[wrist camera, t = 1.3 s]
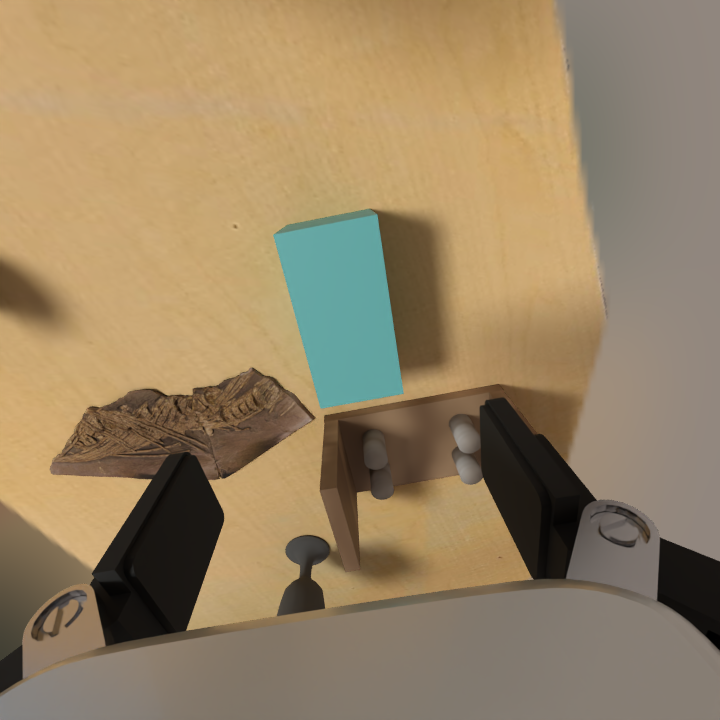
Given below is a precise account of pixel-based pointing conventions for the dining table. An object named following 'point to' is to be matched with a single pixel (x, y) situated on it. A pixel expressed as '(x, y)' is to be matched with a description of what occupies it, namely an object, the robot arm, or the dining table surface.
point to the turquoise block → (342, 306)
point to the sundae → (304, 576)
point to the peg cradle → (398, 453)
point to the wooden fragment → (183, 429)
